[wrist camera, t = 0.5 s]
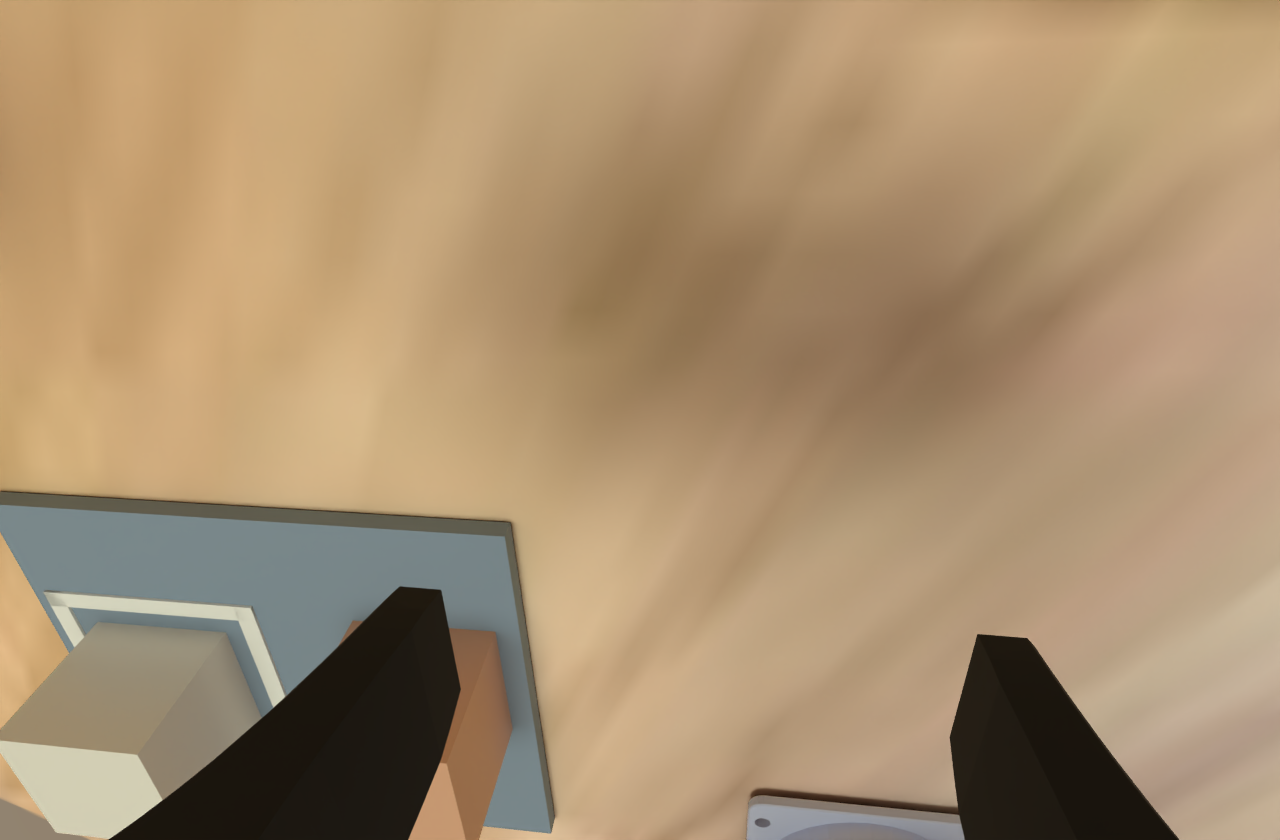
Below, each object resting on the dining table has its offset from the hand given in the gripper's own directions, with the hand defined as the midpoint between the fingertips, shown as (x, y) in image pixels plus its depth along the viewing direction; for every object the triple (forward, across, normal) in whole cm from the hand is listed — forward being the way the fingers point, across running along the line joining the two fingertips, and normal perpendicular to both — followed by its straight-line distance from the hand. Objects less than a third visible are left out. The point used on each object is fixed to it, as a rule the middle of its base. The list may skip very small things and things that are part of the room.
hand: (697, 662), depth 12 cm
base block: (+9, +18, +13) cm, 24 cm away
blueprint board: (+10, +14, +13) cm, 21 cm away
